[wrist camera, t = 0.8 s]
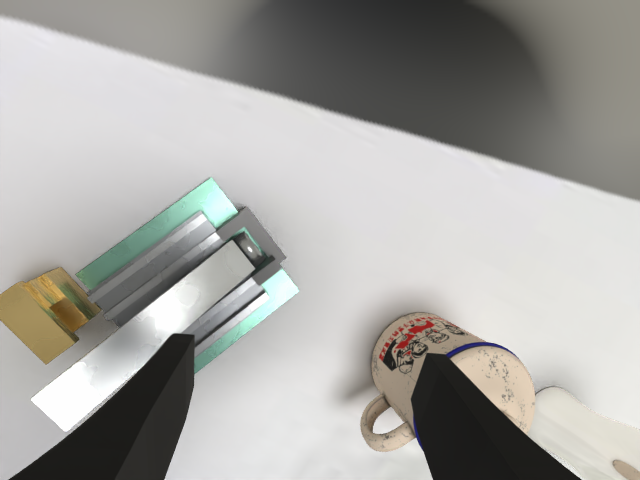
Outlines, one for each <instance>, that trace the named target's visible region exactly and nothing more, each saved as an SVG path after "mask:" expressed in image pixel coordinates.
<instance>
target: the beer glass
mask: <svg viewBox="0 0 640 480" xmlns="http://www.w3.org/2000/svg"><path fill="white" fill-rule="evenodd" d="M527 436H528V437H530V438H531V439H532V440H533V441H534V442H535V443H537V444H538V445H539V446H540V447H542V448H544V449H546V450H548V451H550V452H552V453H554V454H555V455H557V456H559V457H560V458H561V459H563V460H564V461H565V462H567V463H568V464H569V465H570V466H571V467H572V468H573V469H574V470H575V471H576V472H577V473H578V474H579V475H580V476H581V477H582V478H583V479H584V480H640V429H638V428H635V427H632V426H630V425H627V424H624V423H621V422H619V421H616V420H613V419H611V418H608V417H605V416H603V415H601V414H599V413H596V412H594V411H592V410H591V409H589V408H587V407H586V406H585V405H583V404H582V403H581V402H580V401H578V400H577V399H576V398H575V397H574V396H572V395H571V394H570V393H569V392H567V391H566V390H564V389H562V388H559V387H549V388H546V389H543V390H541V391H540V392H538V393H537V394H536V395H535V412H534V417H533V421H532V424H531V427H530V430H529V432H528V434H527Z"/></svg>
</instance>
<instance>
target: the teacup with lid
mask: <svg viewBox="0 0 640 480" xmlns="http://www.w3.org/2000/svg"><path fill="white" fill-rule="evenodd" d="M426 353H437V354H445V355H446V356H447V357H448V358H449V359H451V360H452V361H453V362H454V364H455V365H456V366H457V367H458V368H459V369H460V370H461V371H462V372H463V373H464V374H465V375H466V376H467V377H468V378H469V379H470V380H471V381H472V382H473V383H474V384H475V385H476V386H477V387H478V388H479V389H480V390H481V391H482V392H483V393H484V394H485V395H486V397H487V398H488V399H489V400H490V401H491V402H492V403H493V404H494V405H495V406H497V407H498V408H499V409H500V410H501V411H502V412H503V413H504V414H505V415H506V416H507V417H508V418H509V419H510V420H511V421H512V422H513V423H514V424H515V425H516V426H518V427H519V428H520V429H521V430H522V431H523V432H524V433H525V434H526V435H527V434H528V432H529V430H530V427H531V424H532V421H533V417H534V412H535V391H534V386H533V382H532V379H531V377H530V375H529V373H528V371H527V369H526V367H525V366H524V365H523V363H522V362H521V361H520V360H519V358H518V357H517V356H516V355H515V354H513V353H512V352H511V351H510V350H508V349H506V348H505V347H503V346H500V345H497V344H494V343H489V342H486V341H484V340H482V339H480V338H478V337H476V336H474V335H473V334H471V333H469V332H467V331H465V330H463V329H461V328H459V327H458V326H456V325H454V324H452V323H450V322H448V321H446V320H444V319H442V318H441V317H438V316H436V315H433V314H429V313H414V314H410V315H406V316H404V317H402V318H400V319H398V320H396V321H395V322H393V323H392V324H391V325H390V326H389V327H388V328H387V329H386V330H385V331H384V332H383V333H382V335H381V336H380V338H379V340H378V341H377V343H376V346H375V348H374V352H373V356H372V375H373V379H374V382H375V385H376V387H377V389H378V390H379V392H380V393H381V395H379V396H378V397H376V398H375V399H374V400H373V401H371V402H370V403H369V404H368V406H367V407H366V408H365V410H364V412H363V414H362V417H361V422H360V427H361V432H362V435H363V437H364V439H365V441H366V443H367V444H368V445H369V446H370V447H371V448H372V449H374V450H376V451H380V452H388V451H393V450H396V449H398V448H400V447H402V446H404V445H405V444H407V443H408V442H410V441H411V440H413V439H414V438H417V440H418V443H419V445H420V447H421V448H422V445H421V442H420V439H419V436H418V432H417V428H416V424H415V419H414V414H413V409H412V404H411V396H412V394H413V391H414V388H415V385H416V382H417V379H418V376H419V373H420V371H421V368H422V365H423V362H424V359H425V356H426ZM389 407H392V408H393V409H394V410H395V412H396V413H397V414H398V415H399V417H400V418H401V419H402V420H403V421H404V423H403V424H402V425H400V426H399V427H397V428H396V429H394V430H392V431H390V432H388V433H385V434H375V433H373V425H374V422H375V420H376V419H377V418H378V416H379V415H380V414H381V413H383V412H384V411H385V410H387V409H388V408H389ZM422 450H423V448H422Z"/></svg>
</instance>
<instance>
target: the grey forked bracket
mask: <svg viewBox="0 0 640 480" xmlns="http://www.w3.org/2000/svg"><path fill="white" fill-rule="evenodd" d="M243 227H245V228H246V229H247V230H248V232H249V233H250V234H251V236H252V237H253V238H254V239H255V241H256V242H257V243H258V245H259V246H260V247H261V248H262V250H263V251H264V252H265V255H264V257H265V258H266V259H265V260H264V261H263V262H262V263H261V264H260V265H258V266H257V267H254V268H255V269H254V270H253V271H252V272H251V273H250V274H251V277H252V278H253V280H254V281H255V282H256V283H257V285H258V286H261V285H262V284H263V283H264V282H266V281H267V280H268V279H270V278H271V277H272V276H273V275H275V274H276V273H277V272H279V271H280V270H281V269H282V267H281V265H280V264H279V263H280V262H282V261H283V260H284V259H285V258H286V257H285V255H284V254H283V253H282V251H281V250H280V249H279V247H278V246H277V245H276V244H275V242H274V241H273V240H272V238H271V237H270V236H269V234H268V233H267V232H266V230H265V229H264V228H263V227H262V225H261V224H260V223H259V221H258V220H257V219H256V217H255V216H254V215H253V213H252V212H251V211H250V210H249V208H248V207H245V208H243V209H242V210H241V211H239V212H238V213H237V214H235V215H234V216H233V217H231V218H230V219H229V220H227V221H226V222H225V223H223V224H222V225H221V226H219V227H218V228H217V229H216V234H217V235H218V236H219V237H220V238H221V240H222V241H223V242H224V241H226V240H227V239H228V238H230V237H231V236H232V235H234V234H235V233H236V232H238V231H239V230H240V229H242V228H243Z"/></svg>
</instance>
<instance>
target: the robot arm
mask: <svg viewBox="0 0 640 480" xmlns="http://www.w3.org/2000/svg"><path fill="white" fill-rule="evenodd" d="M194 352H195V335H192V334H179V333H173V334H172V335H170V336H169V337H168V339H167V340H166V341H165V342H164V343H163V344H162V346H161V347H160V348H159V349H158V350H157V351H156V353H155V354H154V355H153V356H152V357H151V358H150V359H149V360H148V361H147V362H146V364H145V365H144V366H143V367H142V368H141V369H140V370H139V371H138V372H137V373H136V374H135V375H134V376H133V377H132V378H131V379H130V380H129V381H128V382H127V383H126V384H125V385H124V386H123V387H122V388H121V389H120V390H119V391H118V392H117V393H116V394H115V395H114V396H113V397H112V398H111V399H109V400H108V401H107V402H106V403H105V404H104V405H103V406H102V407H101V408H100V409H99V410H98V411H97V412H95V413H94V414H93V415H92V416H91V417H90V418H89V419H87V420H86V421H85V422H84V423H83V424H81V425H80V426H79V427H78V428H77V429H76V430H74V431H73V432H72V433H71V434H69V435H68V436H67V437H66V438H64V439H63V440H62V441H61V442H59V443H58V444H57V445H55V446H54V447H53V448H51V449H50V450H49V451H47V452H46V453H45V454H43V455H42V456H41V457H39V458H38V459H37V460H35V461H34V462H33V463H31V464H30V465H29V466H27V467H26V468H24V469H23V470H22V471H20V472H19V473H17V474H16V475H15V476H13V477H12V478H10V479H9V480H164V479H165V476H166V473H167V470H168V468H169V465H170V462H171V459H172V457H173V454H174V451H175V448H176V445H177V443H178V440H179V437H180V434H181V432H182V429H183V426H184V423H185V420H186V417H187V413H188V409H189V405H190V400H191V396H192V392H193V388H194ZM411 404H412V409H413V414H414V419H415V424H416V428H417V432H418V436H419V439H420V442H421V445H422V448H423V451H424V454H425V457H426V460H427V463H428V466H429V469H430V472H431V475H432V478H433V480H581V479H580V478H579V477H577V476H576V475H575V474H574V473H572V472H571V471H570V470H568V469H567V468H566V467H564V466H563V465H562V464H561V463H560V462H558V461H557V460H556V459H555V458H553V457H552V456H551V455H550V454H548V453H547V452H546V451H545V450H544V449H542V448H541V447H540V446H539V445H538V444H537V443H535V442H534V441H533V440H532V439H531V438H530V437H528V436H527V435H526V434H525V433H524V432H523V431H522V430H521V429H520V428H519V427H518V426H516V425H515V424H514V423H513V422H512V421H511V420H510V419H509V418H508V417H507V416H506V415H505V414H504V413H503V412H502V411H501V410H500V409H499V408H498V407H497V406H495V405H494V404H493V403H492V402H491V401H490V400H489V399H488V398H487V397H486V395H485V394H484V393H483V392H482V391H481V390H480V389H479V388H478V387H477V386H476V385H475V384H474V383H473V382H472V381H471V380H470V379H469V378H468V377H467V376H466V375H465V374H464V373H463V372H462V371H461V370H460V369H459V368H458V367H457V366H456V365H455V364H454V362H453V361H452V360H451V359H449V358H448V357H447V356H446V355H445V354H437V353H426V356H425V359H424V362H423V365H422V368H421V371H420V373H419V376H418V379H417V382H416V385H415V388H414V391H413V394H412V396H411Z"/></svg>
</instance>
